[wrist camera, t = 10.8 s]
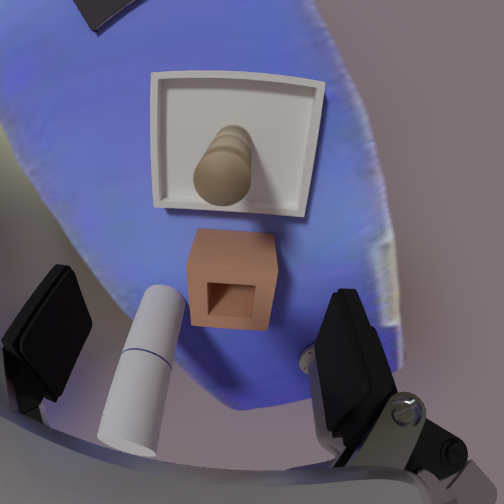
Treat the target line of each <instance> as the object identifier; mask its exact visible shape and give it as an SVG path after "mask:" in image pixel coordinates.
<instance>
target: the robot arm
mask: <svg viewBox="0 0 504 504" xmlns="http://www.w3.org/2000/svg"><path fill="white" fill-rule="evenodd" d="M91 328H92V320H91V317H90V314H89V312H88V309H87V307H86V304H85V301H84V299H83V296H82V293H81V290H80V288H79V285H78V281H77V278H76V275H75V273H74V271H73V270H72V269H71V267H70V266H67V265H59V264H56V265H55V266H54V267H53V268H52V269H51V270H50V272H49V273H48V274H47V276H46V277H45V278H44V279H43V281H42V282H41V283H40V285H39V286H38V287H37V289H36V290H35V291H34V293H33V294H32V295H31V297H30V298H29V299H28V301H27V302H26V304H25V305H24V306H23V308H22V309H21V311H20V312H19V314H18V315H17V317H16V318H15V320H14V321H13V323H12V324H11V326H10V327H9V329H8V330H7V332H6V333H5V335H4V337H3V338H2V340H1V341H2V343H3V345H4V346H3V348H1V346H0V504H495V501H496V498H497V489H496V488H495V486H494V484H493V483H492V482H491V481H490V480H489V479H488V477H487V476H486V475H485V474H484V473H483V472H482V470H481V469H480V468H479V467H478V466H477V465H476V463H475V462H474V461H473V460H470V461H468V460H467V458H468V451H467V447H466V445H465V443H464V442H463V441H462V440H461V439H460V438H458V437H456V436H455V435H453V434H451V433H450V432H448V431H446V430H444V429H443V428H441V427H440V426H438V425H436V424H435V423H433V422H432V421H430V420H428V419H427V418H426V408H425V406H424V403H423V402H422V401H421V399H420V398H418V397H417V396H416V395H414V394H412V393H409V392H399V393H398V392H397V388H396V385H395V382H394V379H393V376H392V373H391V370H390V367H389V364H388V361H387V359H386V356H385V353H384V350H383V347H382V345H381V342H380V339H379V337H378V334H377V331H376V330H375V328H374V327H373V326H370V323H369V321H368V318H367V315H366V313H365V310H364V308H363V305H362V303H361V300H360V298H359V295H358V293H357V291H356V290H355V289H342V288H340V289H339V290H338V291H337V292H334V293H333V294H332V297H331V300H330V303H329V305H328V308H327V311H326V314H325V317H324V320H323V322H322V325H321V328H320V331H319V333H318V336H317V339H316V341H315V343H314V344H312V345H311V346H309V347H308V348H306V349H305V350H304V351H303V352H302V353H301V355H300V357H299V367H300V369H301V370H302V371H303V372H304V373H306V374H308V376H309V383H310V391H311V397H312V405H313V412H314V421H315V428H316V436H317V439H318V442H319V443H320V445H321V446H322V447H323V448H324V449H326V450H327V451H329V452H330V453H332V454H333V455H334V456H335V458H334V459H332V460H329V461H326V462H321V463H317V464H311V465H305V466H299V467H294V468H290V469H287V470H285V471H251V470H250V471H249V470H229V469H228V470H227V469H215V468H206V467H197V466H190V465H182V464H176V463H169V462H164V461H159V460H154V459H149V458H144V457H140V456H136V455H132V454H128V453H124V452H120V451H116V450H113V449H110V448H106V447H103V446H100V445H96V444H93V443H90V442H87V441H85V440H82V439H79V438H76V437H73V436H71V435H68V434H66V433H63V432H60V431H58V430H55V429H53V428H51V427H50V426H49V423H48V420H47V416H46V413H45V410H44V406H43V403H42V400H43V397H45V398H46V399H48V400H51V401H53V402H56V401H57V399H58V397H60V396H61V395H62V393H63V391H64V388H65V386H66V384H67V381H68V379H69V376H70V374H71V371H72V369H73V367H74V365H75V363H76V360H77V358H78V356H79V354H80V351H81V350H82V347H83V345H84V343H85V341H86V339H87V337H88V335H89V333H90V331H91Z"/></svg>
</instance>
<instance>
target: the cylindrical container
mask: <svg viewBox="0 0 504 504" xmlns="http://www.w3.org/2000/svg"><path fill="white" fill-rule="evenodd" d="M185 306H186V303H185V299H184V297H183V296H182V295H181V294H180V293H179V292H178V291H177V290H176V289H174V288H172V287H169V286H166V285H154V286H151V287H149V288H148V289H147V290H146V291H145V293H144V296H143V298H142V301H141V303H140V306H139V308H138V311H137V313H136V316H135V319H134V321H133V324H132V327H131V329H130V332H129V335H128V338H127V340H126V343H125V346H124V349H123V352H122V355H121V358H120V361H119V363H118V366H117V369H116V373H115V375H114V379H113V382H112V385H111V388H110V392H109V395H108V398H107V401H106V405H105V408H104V412H103V415H102V419H101V423H100V427H99V430H98V434H97V438H98V439H99V440H101V441H102V442H104V443H105V444H107V445H109V446H111V447H113V448H116V449H119V450H121V451H124V452H127V453H131V454H135V455H141V456H155V455H156V454H157V447H158V440H159V435H160V429H161V423H162V417H163V411H164V406H165V400H166V395H167V390H168V385H169V380H170V375H171V370H172V365H173V360H174V355H175V351H176V346H177V341H178V337H179V332H180V328H181V323H182V319H183V315H184V311H185Z"/></svg>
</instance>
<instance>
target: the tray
mask: <svg viewBox="0 0 504 504" xmlns="http://www.w3.org/2000/svg"><path fill="white" fill-rule="evenodd" d="M325 83H326V82H322V81H317V80H311V79H305V78H298V77H291V76H283V75H275V74H265V73H253V72H238V71H168V72H153V73H151V94H150V142H151V170H152V188H153V202H154V207H158V208H180V209H199V210H216V211H232V212H246V213H260V214H272V215H284V216H296V217H304V215H305V210H306V204H307V199H308V193H309V188H310V182H311V176H312V170H313V164H314V158H315V152H316V146H317V139H318V133H319V126H320V119H321V113H322V105H323V98H324V91H325ZM227 125H239V126H242V127H243V128H245V129H246V130H247V131H248V133H249V134H250V137H251V186H250V189H249V191H248V193H247V195H246V196H245V197H244V198H243V199H242V200H241V201H239V202H238V203H236V204H234V205H230V206H215V205H212V204H209V203H207V202H206V201H204V200H203V199H202V198H201V197H200V196H199V195H198V193H197V192H196V190H195V187H194V183H193V175H194V171H195V168H196V166H197V165H198V163H199V161H200V160H201V158H202V157H203V155H204V153H205V152H206V150H207V149H208V147H209V145H210V144H211V142H212V141H213V139H214V138H215V136H216V135H217V133H218V132H219V130H221V129H222V128H223V127H225V126H227Z"/></svg>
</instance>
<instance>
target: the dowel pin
mask: <svg viewBox="0 0 504 504" xmlns="http://www.w3.org/2000/svg"><path fill="white" fill-rule="evenodd" d="M193 183H194V187H195V190H196V192H197V193H198V195H199V196H200V197H201V198H202V199H203V200H204V201H206V202H207V203H209V204H212V205H215V206H230V205H234V204H236V203H238V202H239V201H241V200H242V199H243V198H244V197H245V196H246V195H247V193H248V191H249V189H250V186H251V137H250V134H249V133H248V131H247V130H246V129H245V128H243V127H242V126H239V125H227V126H225V127H223V128H222V129H221V130H219V132H218V133H217V135H216V136H215V138H214V139H213V141H212V142H211V144H210V145H209V147H208V149H207V150H206V152H205V153H204V155H203V157H202V158H201V160H200V161H199V163H198V165H197V166H196V168H195V171H194V175H193Z"/></svg>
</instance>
